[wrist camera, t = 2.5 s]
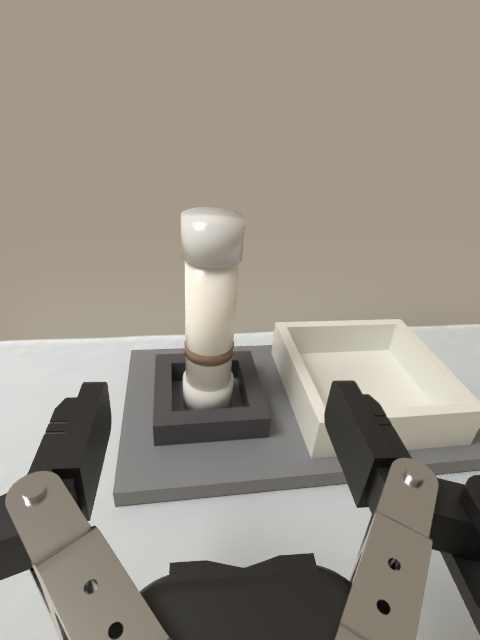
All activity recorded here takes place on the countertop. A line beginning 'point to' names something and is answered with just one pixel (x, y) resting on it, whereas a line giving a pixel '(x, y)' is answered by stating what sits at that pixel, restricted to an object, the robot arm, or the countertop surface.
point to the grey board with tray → (287, 413)
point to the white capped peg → (210, 303)
